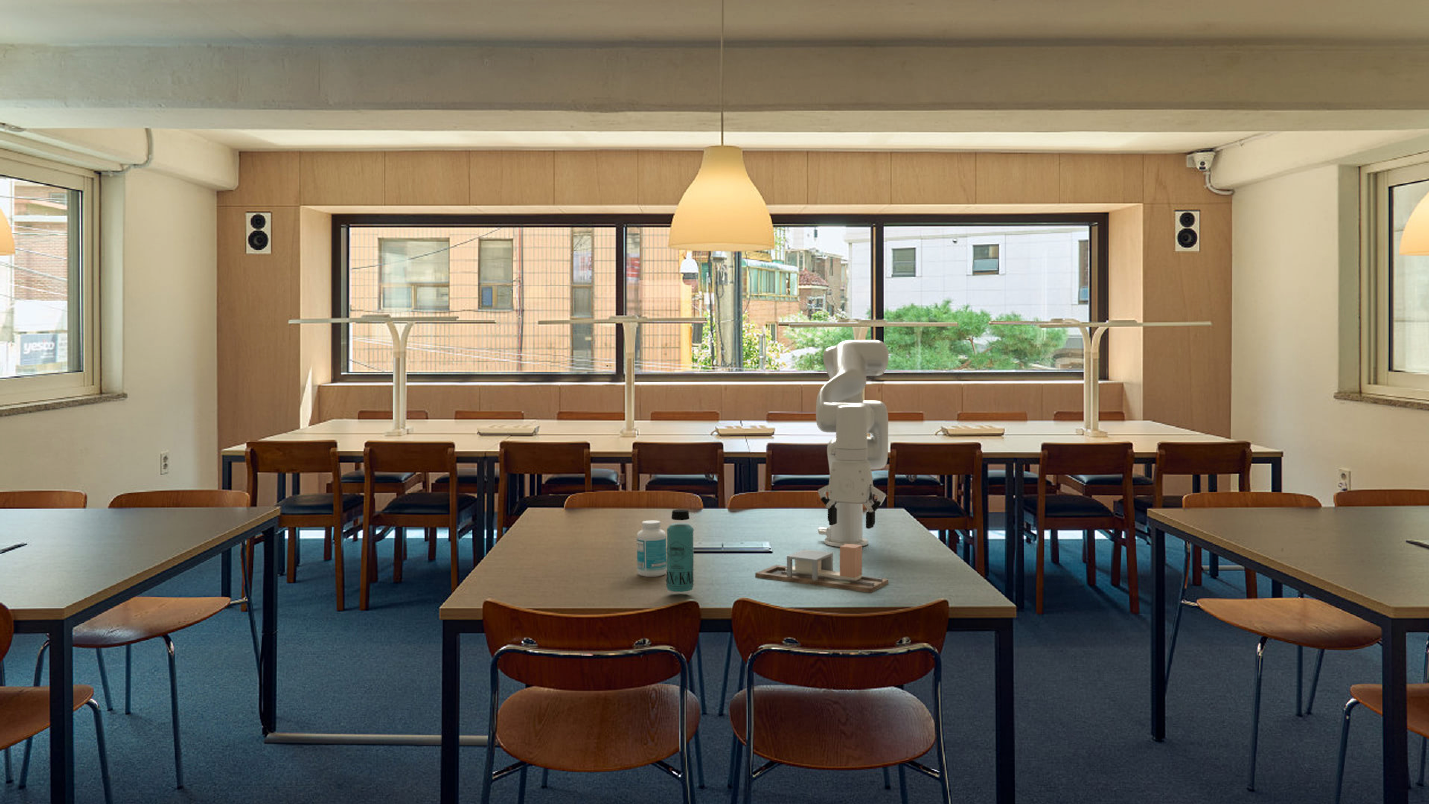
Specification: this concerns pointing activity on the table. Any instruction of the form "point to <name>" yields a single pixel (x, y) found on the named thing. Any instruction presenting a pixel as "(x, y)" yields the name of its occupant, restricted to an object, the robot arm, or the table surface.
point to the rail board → (823, 580)
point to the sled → (848, 564)
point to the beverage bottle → (680, 554)
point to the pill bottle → (651, 550)
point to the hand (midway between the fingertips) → (851, 526)
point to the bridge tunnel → (814, 558)
